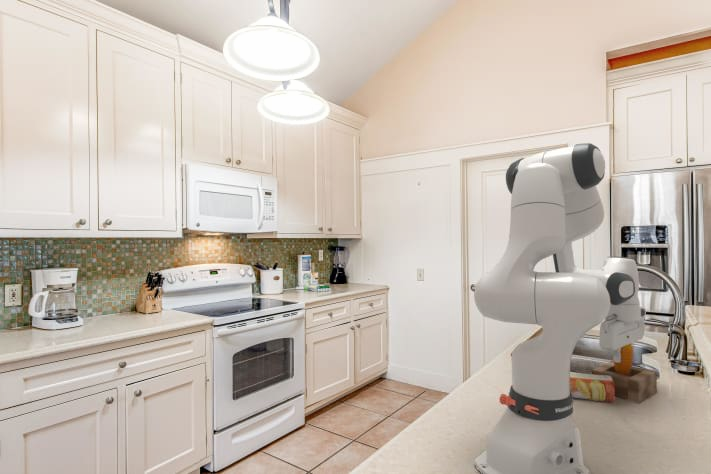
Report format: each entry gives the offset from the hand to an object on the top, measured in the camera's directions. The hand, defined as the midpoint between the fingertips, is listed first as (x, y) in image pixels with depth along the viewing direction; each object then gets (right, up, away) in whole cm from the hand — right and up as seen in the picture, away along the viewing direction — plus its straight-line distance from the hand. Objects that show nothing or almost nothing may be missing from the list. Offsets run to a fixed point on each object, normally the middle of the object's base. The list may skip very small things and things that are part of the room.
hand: (622, 359), depth 117 cm
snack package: (-16, -10, -2) cm, 19 cm away
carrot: (0, -7, 0) cm, 7 cm away
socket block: (0, -9, 0) cm, 9 cm away
